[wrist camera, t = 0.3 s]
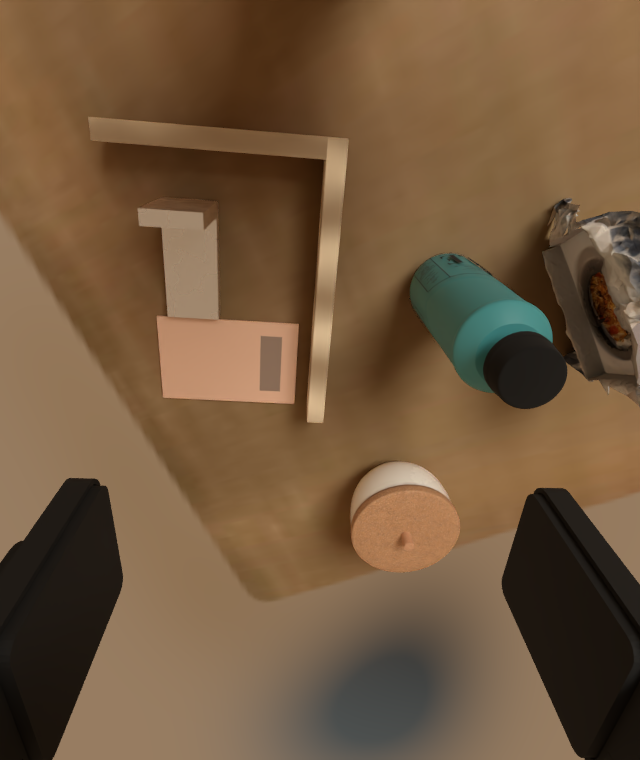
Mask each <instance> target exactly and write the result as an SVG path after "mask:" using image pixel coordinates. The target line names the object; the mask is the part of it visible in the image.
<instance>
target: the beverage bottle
mask: <svg viewBox="0 0 640 760" xmlns="http://www.w3.org/2000/svg"><path fill="white" fill-rule="evenodd" d="M450 253H452V252H450ZM450 253H449V254H442V253H441V255H439V254H438V255H437V256H436V255H435V257H434V256H433V257H431V258H429V260H426V261H425V263H423V264H422V265H421V266H420V267H419V269H418V270H416V273H414V274H415V275H414V276H413V279H412V282H411V286H410V298H409V299H410V300H411V303H412V305H413V307H412V305H411V307H412V308H414V309H415V310H414V311H416V312H417V314H418V315H419V317H420V318H421V320H422V321H423V323H424V324H425V325H426V326H425V327H427V328H428V330H429V331H430V333H431V334H432V336H433V337H434V338H435V340H436V341H437V342H438V344H439V345H440V346H441V348H442V349H443V351H444V352H445V354H446V355H447V357H448V358H449V360H450V361H451V362H452V364H453V365H454V367H455V370H456V372H457V373H458V375H459V376H460V378H461V379H462V380H463V381H464V382H465V383H466V384H468V385H469V386H471V387H473V388H475V389H477V390H480V391H484V392H489V393H495V394H497V395H498V396H499V397H500V398H501V399H502V400H503V401H504V402H505V403H507V404H509V405H511V406H513V407H516V408H520V409H530V408H535V407H539V406H541V405H544V404H546V403H547V402H549V401H550V400H552V399H553V398H554V397H555V396H556V395H557V394H558V393H559V392H560V391H561V389H562V388H563V386H564V384H565V381H566V378H567V365H566V362H565V359H564V357H563V356H562V354H561V353H560V352H559V351H558V350H557V349H556V347H555V346H554V345H553V343H552V342H553V336H552V330H551V326H550V323H549V321H548V319H547V317H546V316H545V315H544V313H543V312H542V311H541V310H539V309H538V308H537V307H536V306H534V305H532V304H531V303H529V302H526V301H525V300H524V299H522V298H521V297H519V296H518V295H517V294H515V293H514V292H513V291H511V290H510V289H509V288H508V287H506V286H505V285H504V284H502V283H501V282H499V281H498V280H496V279H495V277H493V276H492V275H491V274H492V273H491V274H490V273H489V272H488V271H487V272H488V273H487V272H486V271H485V269H484V268H483V267H482V269H483V270H482V269H481V268H479V266H480V265H479V264H477V263H476V264H477V265H479V266H476V265H475V264H474V263H475V262H474V261H473V260H471V259H470V260H471V261H473V262H474V263H472V262H471V261H469V260H468V259H469V258H468V259H466V258H465V256H464V255H463V256H464V257H463V256H461V255H456V254H454V253H452V254H450ZM458 254H459V253H458ZM480 267H481V266H480ZM519 295H520V294H519ZM409 302H410V301H409ZM412 310H413V309H412ZM416 312H414V313H415V314H416ZM417 317H418V316H417ZM418 319H419V318H418ZM419 320H420V319H419ZM421 323H422V322H421ZM433 341H434V340H433Z"/></svg>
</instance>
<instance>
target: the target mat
mask: <svg viewBox="0 0 640 760" xmlns="http://www.w3.org/2000/svg"><path fill="white" fill-rule="evenodd" d="M157 327H158V340H159V352H160V364H161V377H162V389H163V398H182V399H202V400H223V401H244V402H265V403H286V404H294V399H295V382H296V365H297V348H298V330H299V324H294V323H277V322H260V321H243V320H226V319H219V320H214V319H197V318H180V317H168V316H158V315H157Z"/></svg>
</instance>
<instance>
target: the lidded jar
mask: <svg viewBox="0 0 640 760" xmlns="http://www.w3.org/2000/svg"><path fill="white" fill-rule="evenodd" d="M350 522H351V530H350V531H351V540H352V544H353V547H354V549H355V551H356V553H357V554H358V555H359V556H360V558H361V559H363V560H364V561H365V562H366V563H368V564H370V565H371V566H373V567H375V568H378V569H381V570H384V571H389V572H411V571H415V570H420V569H423V568H426V567H428V566H430V565H433V564H435V563H436V562H438V561H439V560H440V559H442V558H443V557H444V556H446V555H447V554H448V553H449V551H450V550H451V549H452V548H453V546H454V545H455V543H456V541H457V539H458V536H459V532H460V521H459V517H458V514H457V512H456V509H455V507H454V505H453V504H452V503H451V500H450V498H449V496H448V494H447V492H446V491H445V489H444V488H443V486H442V485H441V483H440V482H439V481H438V480H437V478H436V477H435V476H434V475H433V474H431V473H430V472H429V471H427V470H426V469H424V468H423V467H421V466H419V465H416V464H413V463H410V462H403V461H393V462H387V463H383V464H381V465H379V466H377V467H375V468H373V469H372V470H370V471H369V472H368V473H367V474H366V475H365V476H364V477H363V478H362V479H361V480H360V482H359V483H358V485H357V487H356V489H355V491H354V493H353V497H352V501H351V509H350Z"/></svg>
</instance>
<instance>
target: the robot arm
mask: <svg viewBox="0 0 640 760" xmlns="http://www.w3.org/2000/svg"><path fill="white" fill-rule="evenodd" d="M122 582H123V573H122V567H121V562H120V556H119V550H118V544H117V539H116V533H115V527H114V521H113V516H112V510H111V504H110V498H109V493H108V489H107V487H106V486H100V483H99V481H98V480H97V479H83V478H80V479H79V478H69V479H67V480H66V481H65V482H64V483H63V485H62V486H61V488H60V489H59V491H58V492H57V493H56V495H55V496H54V498H53V499H52V501H51V502H50V504H49V505H48V506H47V508H46V509H45V511H44V512H43V514H42V515H41V516H40V518H39V519H38V521H37V522H36V524H35V525H34V526H33V528H32V529H31V531H30V532H29V534H28V535H27V536H26V538H25V540H24V541H20V542H18V543H16V544H15V545H14V546H13V547H12V548H11V549H10V550H9V552H8V553H7V554H6V556H5V557H4V559H3V560H2V561H1V563H0V760H52V759H53V757H54V755H55V753H56V751H57V748H58V746H59V743H60V741H61V738H62V736H63V733H64V731H65V728H66V726H67V723H68V721H69V718H70V716H71V713H72V711H73V708H74V706H75V704H76V701H77V698H78V696H79V694H80V691H81V688H82V686H83V684H84V681H85V679H86V676H87V674H88V671H89V669H90V666H91V664H92V661H93V659H94V656H95V654H96V651H97V649H98V646H99V644H100V641H101V639H102V636H103V634H104V631H105V629H106V626H107V624H108V621H109V619H110V616H111V614H112V612H113V609H114V606H115V604H116V601H117V599H118V597H119V594H120V591H121V588H122ZM502 589H503V593H504V596H505V599H506V601H507V603H508V605H509V608H510V610H511V612H512V614H513V616H514V619H515V621H516V623H517V625H518V627H519V630H520V632H521V634H522V636H523V639H524V641H525V643H526V645H527V648H528V650H529V652H530V654H531V656H532V659H533V661H534V663H535V665H536V668H537V670H538V672H539V674H540V676H541V679H542V681H543V683H544V686H545V688H546V690H547V692H548V694H549V697H550V698H551V701H552V703H553V705H554V708H555V710H556V712H557V714H558V717H559V719H560V721H561V723H562V726H563V728H564V730H565V732H566V734H567V737H568V739H569V741H570V743H571V746H572V748H573V749H574V751H575V752H576V754H577V755H578V756H579V757H581V758H585V760H640V584H639V583H638V582H637V580H636V579H635V578H634V577H633V575H632V574H631V573H630V571H629V570H628V569H627V567H626V566H625V565H624V564H623V562H622V561H621V560H620V558H619V557H618V556H617V554H616V553H615V552H614V551H613V549H612V548H611V547H610V545H609V544H608V543H607V542H606V541H605V539H604V538H603V536H602V535H601V534H600V532H599V531H598V530H597V528H596V527H595V526H594V525H593V523H592V522H591V521H590V519H589V518H588V517H587V515H586V514H585V513H584V511H583V510H582V509H581V507H580V506H579V505H578V504H577V502H576V501H575V500H574V498H573V497H572V496H571V494H570V493H569V492H568V491H567V490H566V489H563V488H538V489H536V490H535V492H534V494H530V495H528V496H527V499H526V502H525V505H524V508H523V511H522V515H521V518H520V521H519V525H518V528H517V531H516V534H515V538H514V541H513V544H512V548H511V551H510V554H509V557H508V561H507V564H506V568H505V570H504V574H503V577H502Z"/></svg>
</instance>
